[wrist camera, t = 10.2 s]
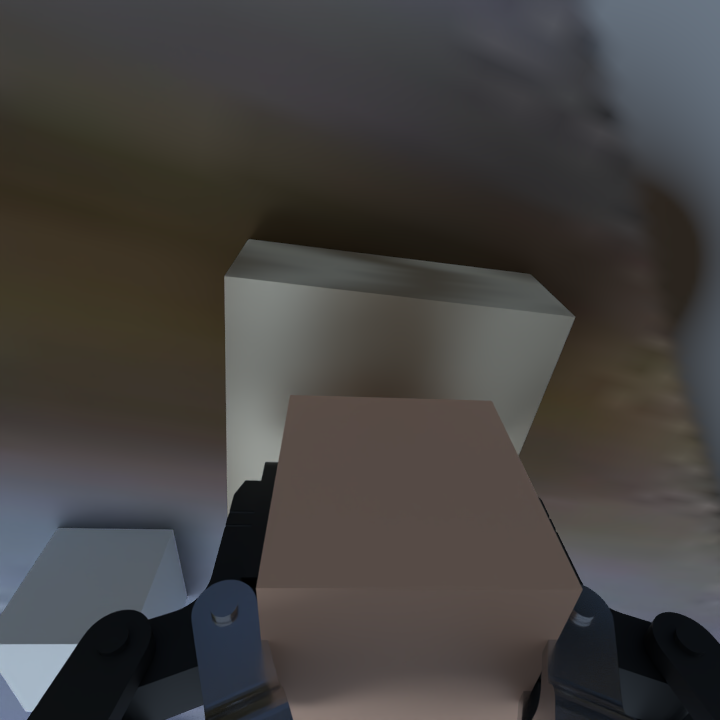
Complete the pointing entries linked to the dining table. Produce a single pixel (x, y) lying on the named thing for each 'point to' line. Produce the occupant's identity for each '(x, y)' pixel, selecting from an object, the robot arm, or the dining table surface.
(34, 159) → the dining table surface
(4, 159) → the dining table surface
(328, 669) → the terracotta cube
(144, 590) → the offwhite cube
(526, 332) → the gray block
